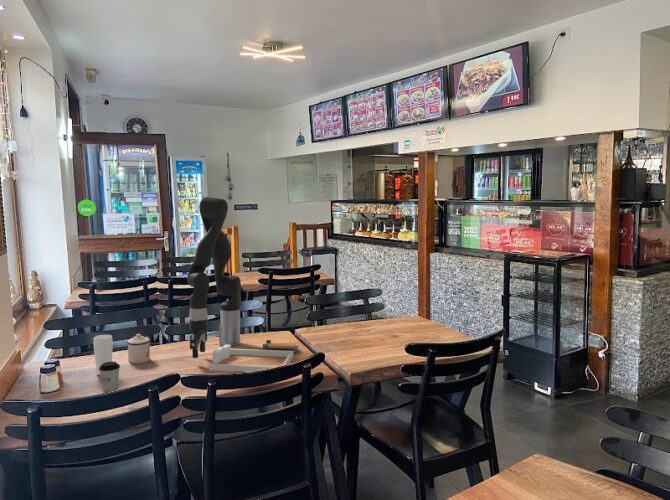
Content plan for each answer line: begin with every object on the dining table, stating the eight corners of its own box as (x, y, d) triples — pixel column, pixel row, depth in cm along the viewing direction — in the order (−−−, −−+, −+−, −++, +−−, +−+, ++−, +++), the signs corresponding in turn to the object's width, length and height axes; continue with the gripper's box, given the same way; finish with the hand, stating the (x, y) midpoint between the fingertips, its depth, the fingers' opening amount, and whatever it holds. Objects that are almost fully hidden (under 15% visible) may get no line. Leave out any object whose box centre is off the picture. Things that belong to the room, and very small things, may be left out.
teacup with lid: (152, 362, 207) (151, 335, 206) (129, 365, 202) (128, 338, 201) (147, 354, 217) (147, 329, 216) (125, 357, 213) (125, 331, 212)
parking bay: (209, 370, 197) (208, 364, 197) (226, 353, 220) (226, 348, 219) (283, 373, 195) (283, 367, 194) (293, 356, 217) (293, 351, 216)
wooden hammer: (264, 348, 222) (264, 345, 222) (266, 345, 227) (266, 342, 227) (293, 348, 221) (293, 345, 221) (295, 345, 226) (295, 342, 226)
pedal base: (260, 353, 221) (260, 344, 221) (264, 348, 229) (264, 339, 229) (295, 354, 219) (295, 345, 219) (298, 349, 227) (298, 340, 227)
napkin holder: (213, 366, 203) (213, 353, 203) (201, 360, 212) (201, 347, 211) (245, 359, 213) (244, 346, 213) (232, 353, 222) (232, 341, 221)
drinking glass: (98, 370, 196) (97, 334, 194) (116, 370, 196) (114, 334, 195) (91, 376, 189) (90, 339, 187) (109, 376, 189) (108, 339, 188)
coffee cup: (114, 385, 180) (113, 359, 179) (124, 389, 176) (123, 363, 175) (95, 391, 175) (94, 364, 174) (106, 395, 171) (105, 368, 170)
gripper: (196, 314, 215) (196, 349, 216) (183, 321, 201) (184, 359, 202) (212, 314, 214) (212, 350, 215) (201, 321, 200) (201, 360, 201)
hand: (198, 354), depth 209 cm, fingers open, 8 cm apart
